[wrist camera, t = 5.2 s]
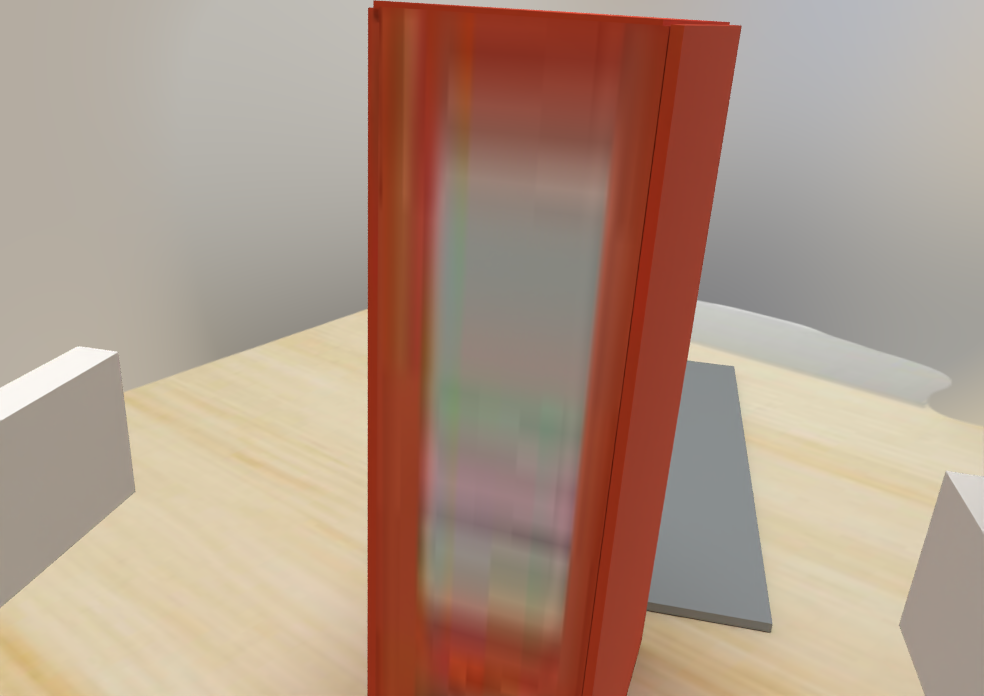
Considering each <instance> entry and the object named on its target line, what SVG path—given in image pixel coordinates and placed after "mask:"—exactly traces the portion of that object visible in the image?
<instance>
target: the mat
mask: <svg viewBox="0 0 984 696" xmlns="http://www.w3.org/2000/svg"><path fill="white" fill-rule="evenodd" d="M647 610H648V611H654V612H660V613H665V614H671V615H676V616H682V617H688V618H693V619H699V620H704V621H710V622H716V623H721V624H727V625H732V626H738V627H744V628H749V629H755V630H760V631H766V632H771V628H772V618H771V611H770V605H769V598H768V591H767V584H766V578H765V571H764V564H763V558H762V551H761V544H760V538H759V531H758V524H757V517H756V511H755V504H754V497H753V491H752V484H751V477H750V471H749V464H748V457H747V450H746V444H745V437H744V430H743V424H742V417H741V410H740V403H739V397H738V390H737V383H736V377H735V370H734V366H726V365H718V364H710V363H702V362H694V361H687V364H686V370H685V376H684V382H683V388H682V395H681V401H680V407H679V413H678V419H677V425H676V431H675V438H674V444H673V450H672V456H671V462H670V468H669V474H668V481H667V487H666V493H665V499H664V505H663V511H662V517H661V524H660V530H659V536H658V542H657V548H656V554H655V560H654V567H653V573H652V579H651V585H650V591H649V597H648V603H647Z"/></svg>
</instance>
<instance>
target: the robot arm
mask: <svg viewBox="0 0 984 696" xmlns="http://www.w3.org/2000/svg"><path fill="white" fill-rule="evenodd" d="M134 492H135V484H134V476H133V468H132V460H131V451H130V443H129V435H128V427H127V419H126V411H125V402H124V394H123V386H122V379H121V371H120V362H119V354H118V352H115V351H108V350H101V349H94V348H87V347H79V346H78V347H76V348H74V349H72V350H70V351H68V352H66V353H64V354H63V355H61V356H59V357H57V358H55V359H53V360H51V361H50V362H48V363H46V364H44V365H42V366H40V367H38V368H36V369H35V370H33V371H31V372H29V373H27V374H25V375H23V376H22V377H20V378H18V379H16V380H14V381H12V382H10V383H8V384H7V385H5V386H3V387H1V388H0V608H1V607H2V606H3V605H4V604H5V603H7V602H8V601H9V600H10V599H11V598H12V597H14V596H15V595H16V594H17V593H18V592H19V591H21V590H22V589H23V588H24V587H25V586H26V585H28V584H29V583H30V582H31V581H32V580H33V579H35V578H36V577H37V576H38V575H39V574H40V573H41V572H43V571H44V570H45V569H46V568H47V567H48V566H50V565H51V564H52V563H53V562H54V561H55V560H57V559H58V558H59V557H60V556H61V555H62V554H64V553H65V552H66V551H67V550H68V549H69V548H71V547H72V546H73V545H74V544H75V543H76V542H77V541H79V540H80V539H81V538H82V537H83V536H84V535H86V534H87V533H88V532H89V531H90V530H91V529H93V528H94V527H95V526H96V525H97V524H98V523H100V522H101V521H102V520H103V519H104V518H105V517H107V516H108V515H109V514H110V513H111V512H112V511H114V510H115V509H116V508H117V507H118V506H119V505H120V504H122V503H123V502H124V501H125V500H126V499H127V498H129V497H130V496H131V495H132V494H133V493H134ZM899 626H900V629H901V632H902V634H903V637H904V640H905V642H906V645H907V648H908V651H909V653H910V656H911V659H912V661H913V664H914V667H915V669H916V672H917V675H918V678H919V680H920V683H921V686H922V688H923V691H924V694H925V696H984V476H978V475H971V474H964V473H957V472H950V471H946V472H945V475H944V479H943V482H942V485H941V489H940V492H939V495H938V498H937V502H936V505H935V508H934V512H933V515H932V518H931V522H930V525H929V528H928V531H927V535H926V538H925V541H924V545H923V548H922V551H921V555H920V558H919V561H918V564H917V568H916V571H915V574H914V578H913V581H912V584H911V588H910V591H909V594H908V597H907V601H906V604H905V607H904V611H903V614H902V617H901V621H900V624H899Z"/></svg>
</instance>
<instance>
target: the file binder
mask: <svg viewBox="0 0 984 696" xmlns="http://www.w3.org/2000/svg"><path fill="white" fill-rule="evenodd" d="M729 24H730V22H717V21H716V22H715V21H700V20H685V19H669V18H654V17H638V16H623V15H607V14H606V15H605V14H590V13H576V12H560V11H543V10H525V9H509V8H492V7H475V6H459V5H441V4H424V3H408V2H391V1H374V8H368V696H626V695H627V692H628V688H629V684H630V681H631V677H632V673H633V670H634V666H635V662H636V659H637V655H638V651H639V648H640V644H641V640H642V634H643V628H644V622H645V616H646V610H647V603H648V597H649V591H650V585H651V579H652V573H653V567H654V560H655V554H656V548H657V542H658V536H659V530H660V524H661V517H662V511H663V505H664V499H665V493H666V487H667V481H668V474H669V468H670V462H671V456H672V450H673V444H674V438H675V431H676V425H677V419H678V413H679V407H680V401H681V395H682V388H683V382H684V376H685V370H686V364H687V358H688V351H689V345H690V339H691V333H692V327H693V321H694V315H695V308H696V302H697V296H698V290H699V284H700V277H701V271H702V265H703V259H704V253H705V247H706V241H707V235H708V229H709V222H710V216H711V210H712V204H713V198H714V192H715V185H716V179H717V173H718V166H719V161H720V155H721V149H722V143H723V136H724V130H725V124H726V117H727V112H728V106H729V99H730V93H731V86H732V81H733V75H734V68H735V63H736V57H737V50H738V44H739V38H740V32H741V26H738V25H729Z"/></svg>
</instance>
